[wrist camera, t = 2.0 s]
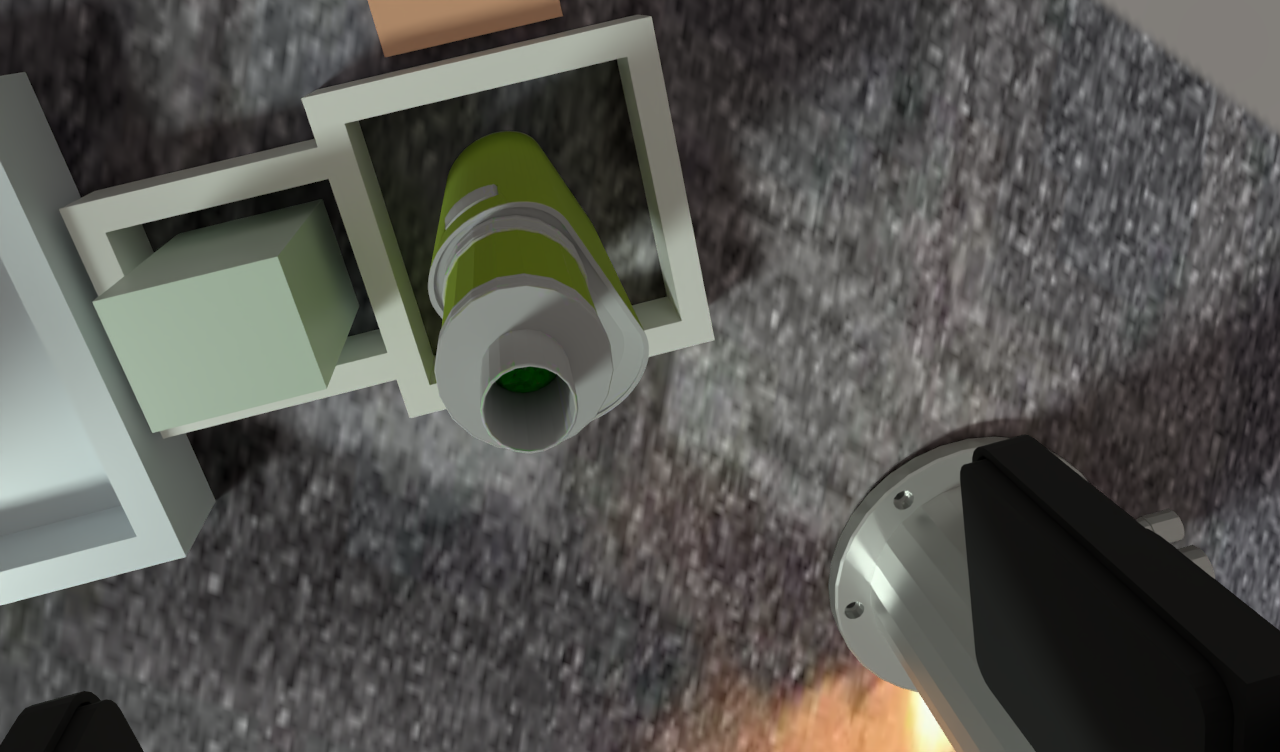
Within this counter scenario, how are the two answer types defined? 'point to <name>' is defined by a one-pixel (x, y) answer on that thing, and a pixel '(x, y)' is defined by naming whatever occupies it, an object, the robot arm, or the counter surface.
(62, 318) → the tray
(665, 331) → the grey double square frame
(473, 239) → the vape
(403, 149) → the counter surface
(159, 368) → the fuse
